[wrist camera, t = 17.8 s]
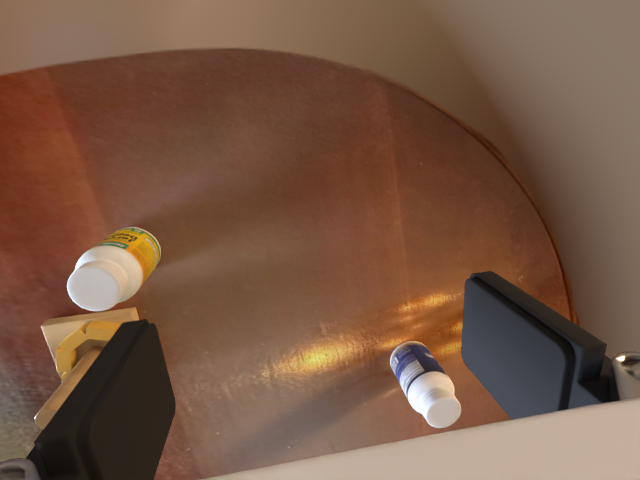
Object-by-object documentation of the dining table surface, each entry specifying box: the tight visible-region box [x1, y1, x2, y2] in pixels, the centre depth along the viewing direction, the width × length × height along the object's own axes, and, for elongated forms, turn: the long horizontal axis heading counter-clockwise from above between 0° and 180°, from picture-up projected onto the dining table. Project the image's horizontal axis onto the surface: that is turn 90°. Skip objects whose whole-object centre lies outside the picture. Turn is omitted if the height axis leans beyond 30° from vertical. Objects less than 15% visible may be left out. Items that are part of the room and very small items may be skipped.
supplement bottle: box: [67, 227, 161, 311], centre depth 32 cm, size 5×5×10 cm
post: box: [35, 307, 139, 430], centre depth 35 cm, size 9×9×10 cm
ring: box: [56, 321, 119, 380], centre depth 38 cm, size 8×8×1 cm
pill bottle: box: [390, 341, 461, 428], centre depth 42 cm, size 5×5×10 cm
